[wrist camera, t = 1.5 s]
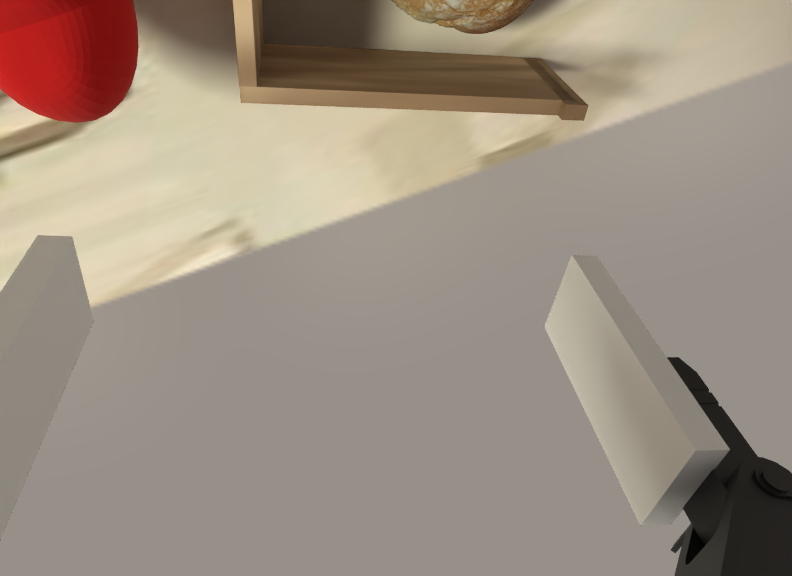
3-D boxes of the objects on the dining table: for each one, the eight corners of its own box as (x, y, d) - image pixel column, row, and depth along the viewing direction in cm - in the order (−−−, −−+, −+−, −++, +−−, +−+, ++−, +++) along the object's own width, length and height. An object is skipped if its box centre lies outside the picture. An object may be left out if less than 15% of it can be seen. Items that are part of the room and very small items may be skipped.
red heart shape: (192, 49, 32) (158, 120, 25) (76, 84, 33) (7, 165, 25) (100, -152, 26) (17, -142, 19) (-41, -107, 27) (-178, -79, 19)
